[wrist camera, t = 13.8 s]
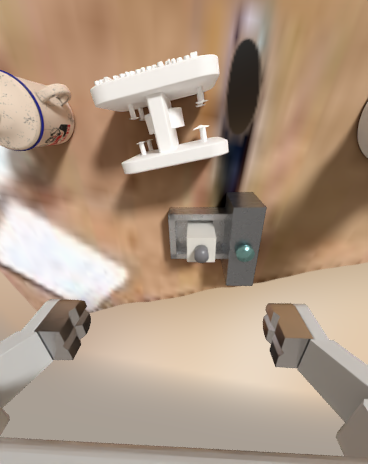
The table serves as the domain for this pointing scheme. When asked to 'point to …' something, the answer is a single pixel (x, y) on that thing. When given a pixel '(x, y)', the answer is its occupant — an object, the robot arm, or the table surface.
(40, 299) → the table surface
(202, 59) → the cable organizer
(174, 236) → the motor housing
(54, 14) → the table surface
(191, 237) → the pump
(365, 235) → the table surface
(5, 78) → the teacup with lid
